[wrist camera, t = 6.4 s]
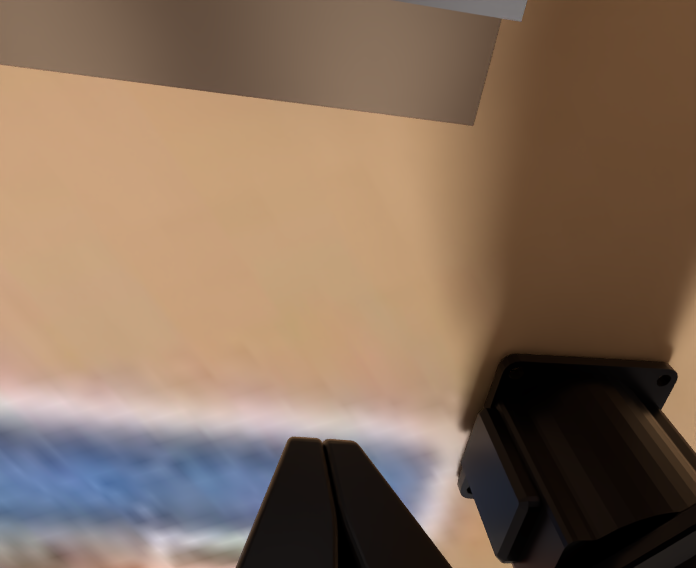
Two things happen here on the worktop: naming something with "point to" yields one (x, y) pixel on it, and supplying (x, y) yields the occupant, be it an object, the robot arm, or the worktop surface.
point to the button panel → (274, 48)
